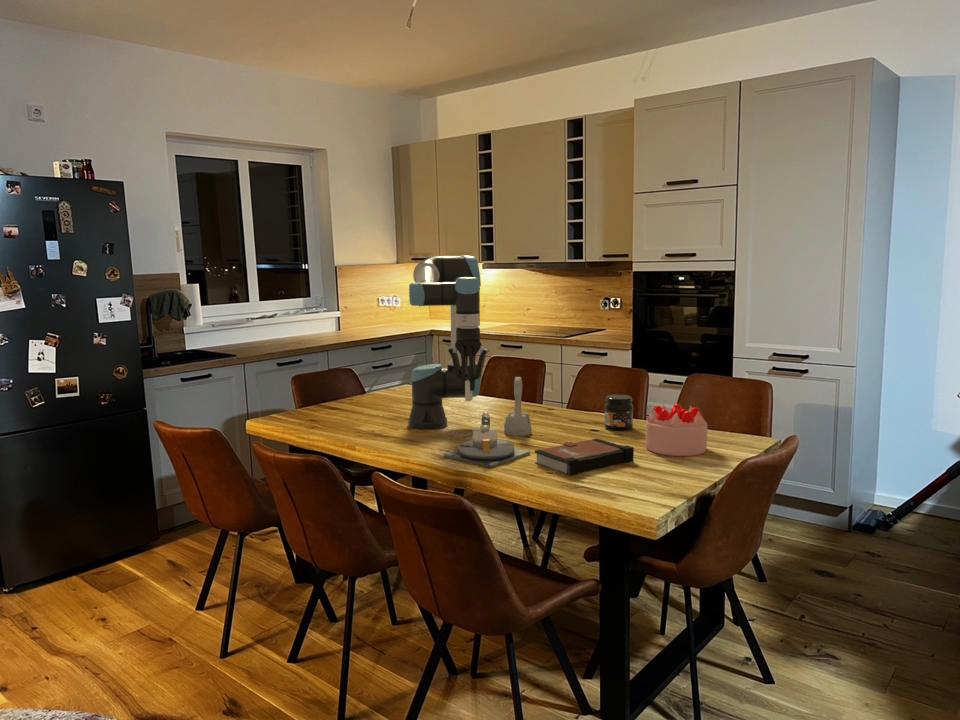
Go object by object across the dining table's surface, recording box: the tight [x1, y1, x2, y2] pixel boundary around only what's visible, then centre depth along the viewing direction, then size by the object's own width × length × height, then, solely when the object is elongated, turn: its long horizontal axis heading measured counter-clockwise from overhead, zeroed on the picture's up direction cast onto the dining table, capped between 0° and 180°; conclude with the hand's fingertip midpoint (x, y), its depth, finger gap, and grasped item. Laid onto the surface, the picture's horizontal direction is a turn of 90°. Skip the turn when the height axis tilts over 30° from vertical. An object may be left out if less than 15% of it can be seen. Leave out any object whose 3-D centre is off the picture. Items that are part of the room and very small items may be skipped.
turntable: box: [458, 438, 515, 459], centre depth 236 cm, size 18×18×6 cm
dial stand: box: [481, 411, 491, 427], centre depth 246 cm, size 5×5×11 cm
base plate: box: [443, 447, 531, 469], centre depth 237 cm, size 20×20×1 cm
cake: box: [645, 403, 708, 457], centre depth 242 cm, size 20×20×14 cm
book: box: [534, 438, 635, 477], centre depth 228 cm, size 26×18×5 cm
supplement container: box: [604, 394, 634, 432], centre depth 272 cm, size 10×10×12 cm
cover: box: [472, 424, 498, 449], centre depth 236 cm, size 8×8×6 cm
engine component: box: [503, 376, 532, 436], centre depth 267 cm, size 11×20×10 cm
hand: (468, 400), depth 232 cm, fingers closed
